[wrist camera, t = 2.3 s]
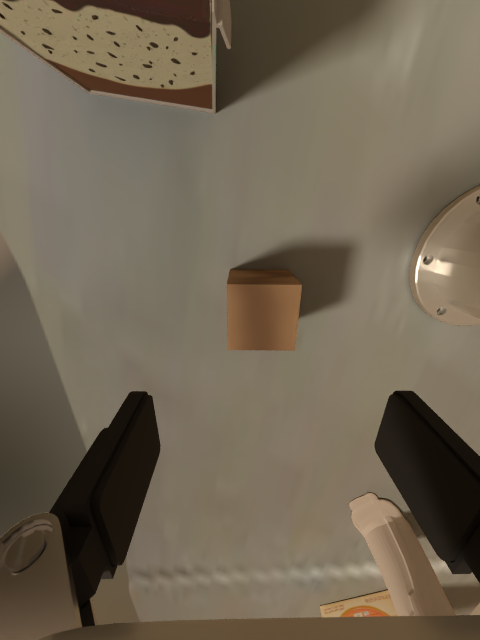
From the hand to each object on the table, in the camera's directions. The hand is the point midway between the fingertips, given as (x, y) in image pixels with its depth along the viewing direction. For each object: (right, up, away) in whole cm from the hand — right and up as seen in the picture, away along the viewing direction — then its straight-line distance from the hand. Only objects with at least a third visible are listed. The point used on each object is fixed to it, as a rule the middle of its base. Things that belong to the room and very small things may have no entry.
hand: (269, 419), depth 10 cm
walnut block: (+1, +6, +14) cm, 16 cm away
